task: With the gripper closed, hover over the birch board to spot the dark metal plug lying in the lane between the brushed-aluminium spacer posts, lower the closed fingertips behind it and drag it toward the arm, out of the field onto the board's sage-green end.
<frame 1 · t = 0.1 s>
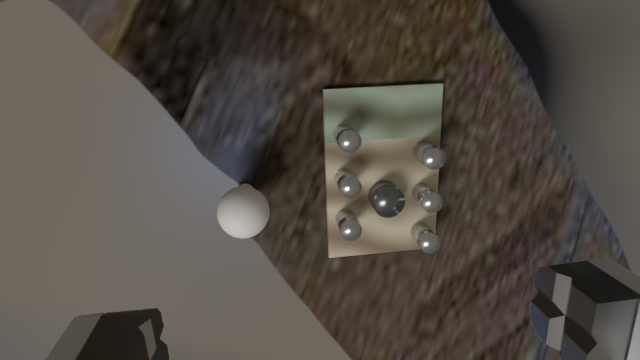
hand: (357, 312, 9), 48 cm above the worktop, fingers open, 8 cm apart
dark metal plug: (383, 195, 60), point 1 cm above the worktop, touching board
board: (381, 173, 60), on the worktop
lightbulb: (245, 189, 58), on the worktop
spacers: (387, 190, 57), on the board, point 3 cm above the worktop
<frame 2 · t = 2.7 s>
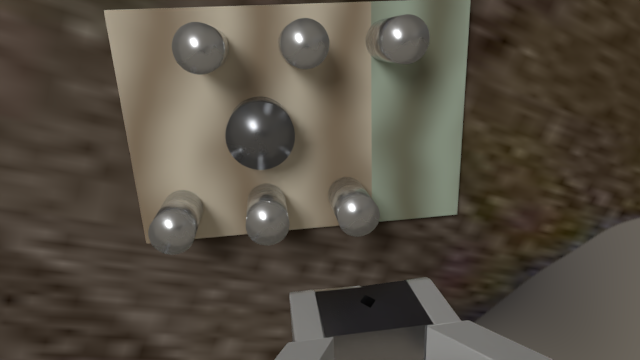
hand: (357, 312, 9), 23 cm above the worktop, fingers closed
dark metal plug: (260, 128, 30), point 1 cm above the worktop, touching board
board: (301, 123, 31), on the worktop
spacers: (283, 132, 28), on the board, point 3 cm above the worktop
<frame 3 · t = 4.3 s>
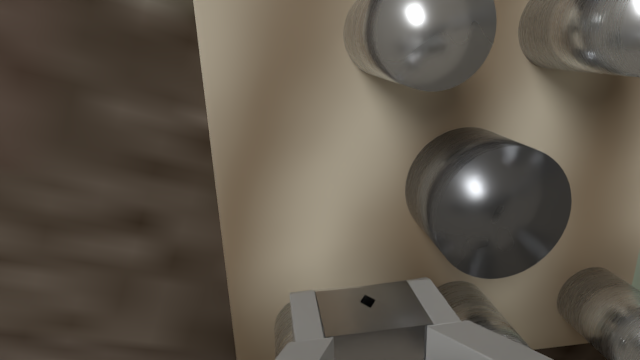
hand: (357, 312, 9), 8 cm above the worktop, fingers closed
dark metal plug: (462, 185, 16), point 1 cm above the worktop, touching board
board: (525, 173, 17), on the worktop
spacers: (535, 203, 14), on the board, point 3 cm above the worktop
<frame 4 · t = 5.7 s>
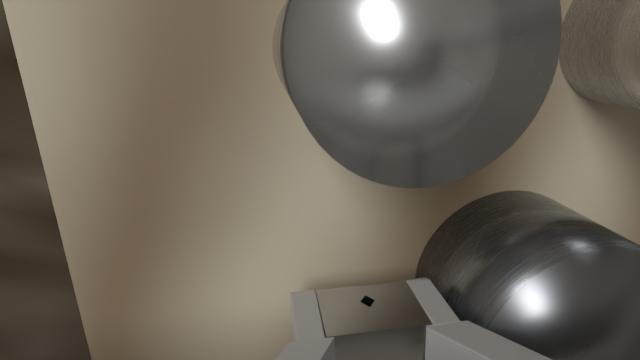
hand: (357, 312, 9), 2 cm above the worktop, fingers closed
dark metal plug: (499, 274, 11), point 1 cm above the worktop, touching board, gripper
board: (560, 250, 12), on the worktop
spacers: (592, 327, 9), on the board, point 3 cm above the worktop
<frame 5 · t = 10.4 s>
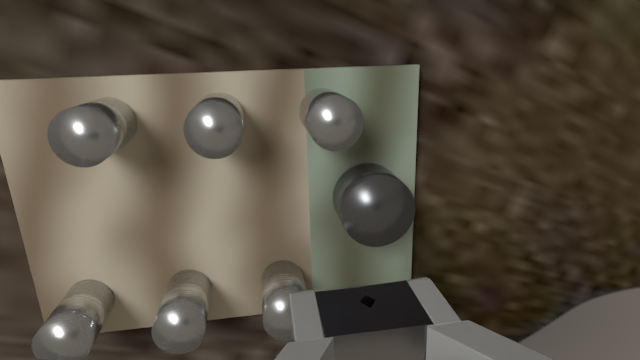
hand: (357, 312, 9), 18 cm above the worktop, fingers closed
dark metal plug: (366, 195, 28), point 1 cm above the worktop, touching board
board: (229, 201, 27), on the worktop
spacers: (199, 221, 24), on the board, point 3 cm above the worktop
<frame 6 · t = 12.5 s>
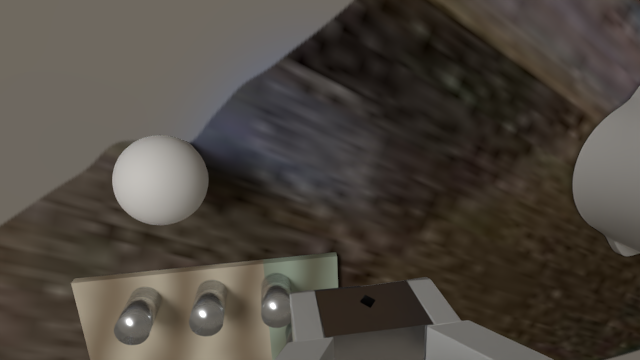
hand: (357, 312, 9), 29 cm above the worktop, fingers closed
board: (219, 336, 43), on the worktop
lightbulb: (182, 151, 37), on the worktop
spacers: (199, 359, 39), on the board, point 3 cm above the worktop
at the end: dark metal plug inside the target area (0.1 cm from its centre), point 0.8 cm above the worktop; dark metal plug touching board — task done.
